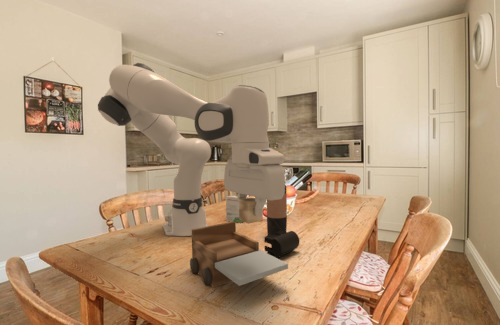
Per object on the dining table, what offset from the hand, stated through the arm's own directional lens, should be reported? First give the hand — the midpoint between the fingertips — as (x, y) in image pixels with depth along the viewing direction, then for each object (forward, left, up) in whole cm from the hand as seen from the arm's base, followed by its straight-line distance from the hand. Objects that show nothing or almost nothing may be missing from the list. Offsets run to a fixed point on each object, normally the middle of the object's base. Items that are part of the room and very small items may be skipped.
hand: (251, 213), depth 64 cm
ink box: (-57, +31, -19) cm, 68 cm away
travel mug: (-26, +30, -19) cm, 44 cm away
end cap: (-13, +21, -19) cm, 31 cm away
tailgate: (-6, 0, -12) cm, 14 cm away
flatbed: (-13, 0, -19) cm, 23 cm away
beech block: (0, 0, -2) cm, 2 cm away
